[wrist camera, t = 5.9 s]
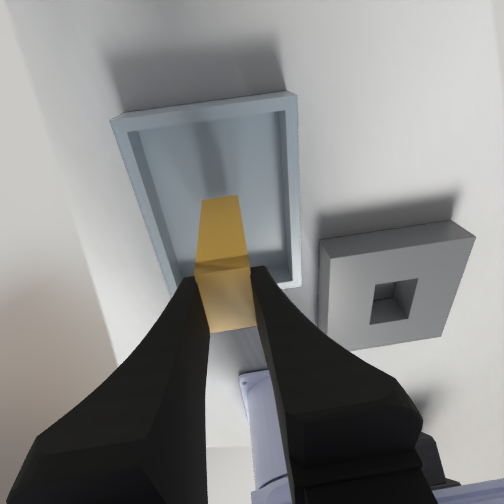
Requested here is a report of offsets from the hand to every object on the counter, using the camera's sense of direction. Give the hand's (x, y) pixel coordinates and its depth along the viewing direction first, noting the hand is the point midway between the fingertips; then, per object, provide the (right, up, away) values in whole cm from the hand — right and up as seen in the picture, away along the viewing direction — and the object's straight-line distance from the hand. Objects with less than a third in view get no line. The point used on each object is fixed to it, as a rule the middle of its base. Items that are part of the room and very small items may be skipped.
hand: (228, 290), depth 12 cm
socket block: (+11, -1, +13) cm, 17 cm away
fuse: (-1, +3, +5) cm, 6 cm away
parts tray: (-1, +5, +8) cm, 9 cm away
